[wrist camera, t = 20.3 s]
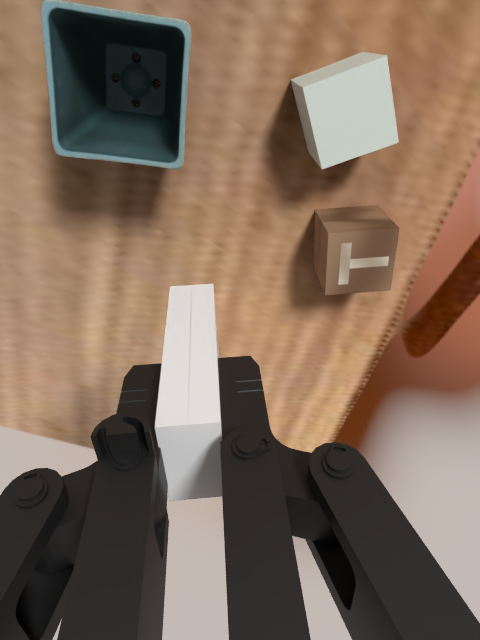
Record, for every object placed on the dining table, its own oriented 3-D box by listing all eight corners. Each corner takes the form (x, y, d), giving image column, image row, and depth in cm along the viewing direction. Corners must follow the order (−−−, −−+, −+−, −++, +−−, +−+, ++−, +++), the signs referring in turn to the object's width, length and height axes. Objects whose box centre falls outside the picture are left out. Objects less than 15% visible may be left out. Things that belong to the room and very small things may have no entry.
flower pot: (196, 23, 34) (192, 20, 27) (188, 143, 39) (183, 171, 31) (78, 4, 33) (38, -4, 26) (84, 130, 38) (52, 155, 30)
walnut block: (390, 290, 41) (370, 261, 46) (399, 228, 38) (377, 204, 43) (325, 295, 41) (312, 266, 46) (328, 233, 38) (314, 209, 43)
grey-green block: (308, 151, 40) (321, 169, 35) (290, 79, 37) (302, 87, 32) (374, 127, 39) (398, 142, 34) (362, 52, 36) (386, 55, 31)
